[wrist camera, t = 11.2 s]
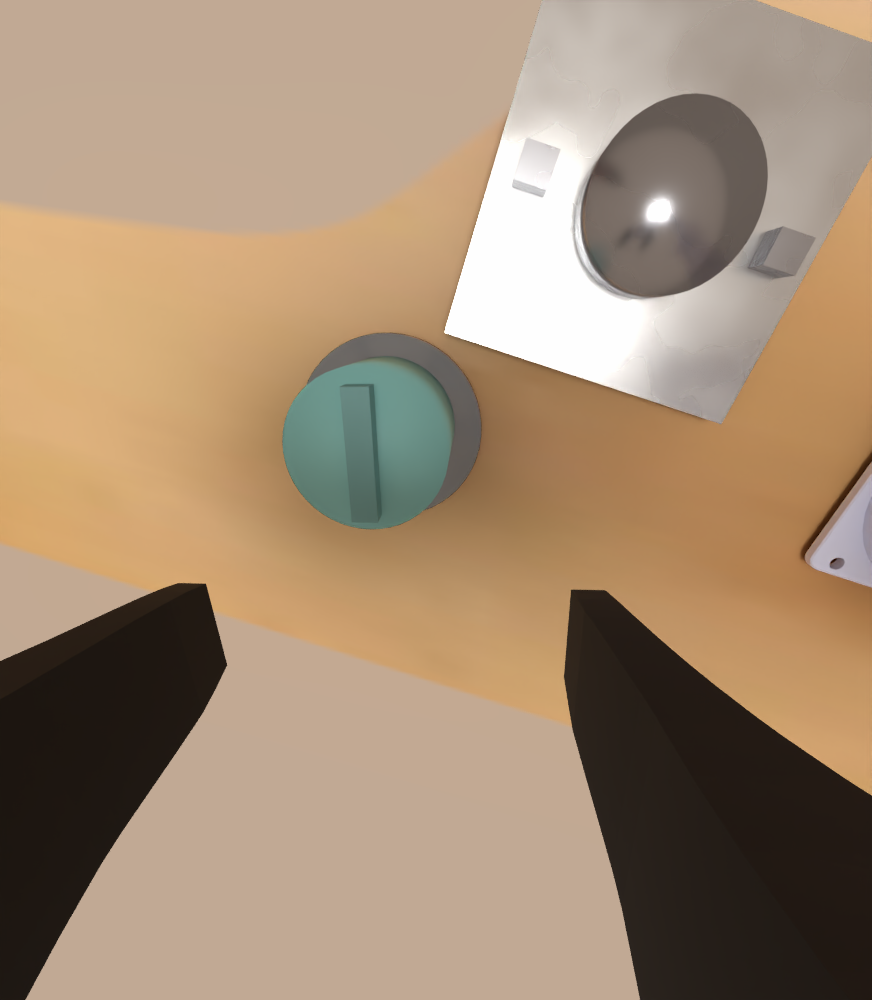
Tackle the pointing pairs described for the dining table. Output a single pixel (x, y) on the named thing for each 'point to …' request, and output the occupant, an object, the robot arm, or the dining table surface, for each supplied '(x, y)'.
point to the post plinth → (600, 101)
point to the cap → (370, 441)
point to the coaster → (445, 373)
